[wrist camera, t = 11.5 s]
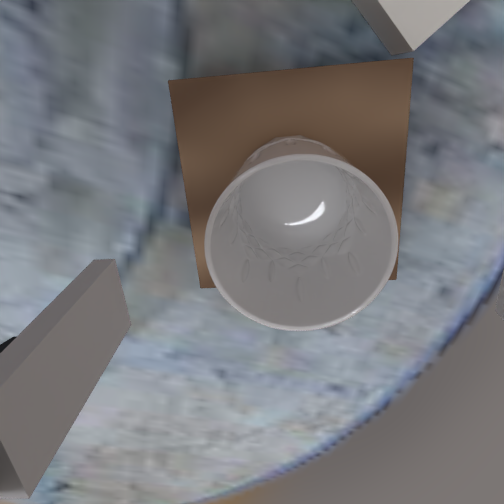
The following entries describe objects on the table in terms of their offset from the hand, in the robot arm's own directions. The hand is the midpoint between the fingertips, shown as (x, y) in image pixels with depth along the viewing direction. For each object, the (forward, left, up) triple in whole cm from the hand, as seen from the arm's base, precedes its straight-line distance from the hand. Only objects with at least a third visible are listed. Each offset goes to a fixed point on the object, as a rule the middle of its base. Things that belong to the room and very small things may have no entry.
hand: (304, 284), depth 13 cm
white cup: (0, 0, -13) cm, 13 cm away
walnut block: (0, 0, -19) cm, 19 cm away
